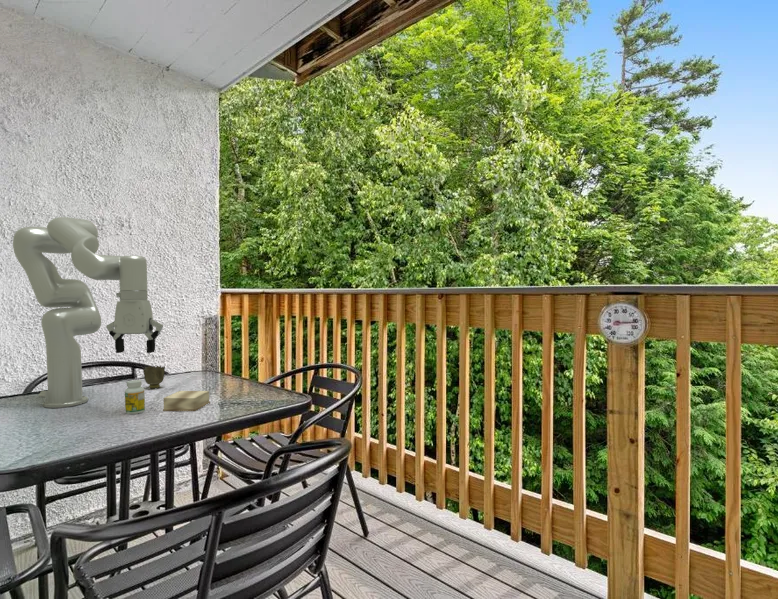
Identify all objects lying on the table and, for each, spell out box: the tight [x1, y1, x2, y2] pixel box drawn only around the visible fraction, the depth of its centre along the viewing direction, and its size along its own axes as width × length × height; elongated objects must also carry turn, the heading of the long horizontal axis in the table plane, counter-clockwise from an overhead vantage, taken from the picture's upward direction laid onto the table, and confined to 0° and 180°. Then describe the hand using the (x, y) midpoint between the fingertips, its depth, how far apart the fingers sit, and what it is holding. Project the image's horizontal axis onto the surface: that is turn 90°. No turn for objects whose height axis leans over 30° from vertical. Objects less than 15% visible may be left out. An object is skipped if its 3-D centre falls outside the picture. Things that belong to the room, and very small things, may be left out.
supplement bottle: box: [124, 379, 146, 415], centre depth 152 cm, size 5×5×10 cm
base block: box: [162, 390, 211, 412], centre depth 159 cm, size 10×10×4 cm
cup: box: [142, 365, 166, 390], centre depth 187 cm, size 8×7×8 cm
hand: (135, 352), depth 152 cm, fingers open, 9 cm apart
